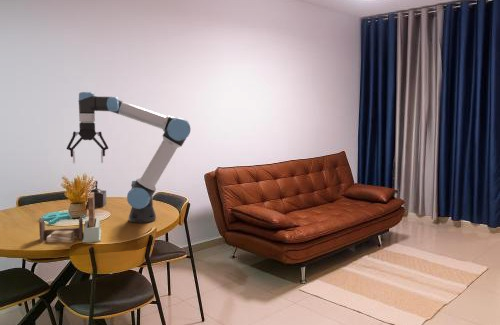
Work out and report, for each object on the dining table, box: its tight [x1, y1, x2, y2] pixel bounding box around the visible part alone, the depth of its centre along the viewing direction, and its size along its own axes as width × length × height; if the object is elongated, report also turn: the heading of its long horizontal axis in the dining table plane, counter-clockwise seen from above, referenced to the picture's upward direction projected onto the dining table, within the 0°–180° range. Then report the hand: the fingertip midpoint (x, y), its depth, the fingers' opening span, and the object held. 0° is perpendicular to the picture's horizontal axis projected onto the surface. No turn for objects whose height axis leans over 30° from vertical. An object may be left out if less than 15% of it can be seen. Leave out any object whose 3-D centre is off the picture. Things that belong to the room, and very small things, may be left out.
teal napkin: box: [39, 211, 87, 226], centre depth 230 cm, size 20×2×20 cm
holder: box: [81, 217, 102, 243], centre depth 197 cm, size 8×19×7 cm, turn 19°
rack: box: [38, 216, 84, 244], centre depth 192 cm, size 18×8×10 cm, turn 109°
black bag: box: [86, 180, 107, 208], centre depth 260 cm, size 16×11×18 cm
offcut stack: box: [46, 231, 78, 243], centre depth 190 cm, size 12×5×4 cm, turn 94°
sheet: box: [88, 192, 96, 228], centre depth 197 cm, size 15×2×20 cm, turn 19°
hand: (88, 162), depth 210 cm, fingers open, 13 cm apart
